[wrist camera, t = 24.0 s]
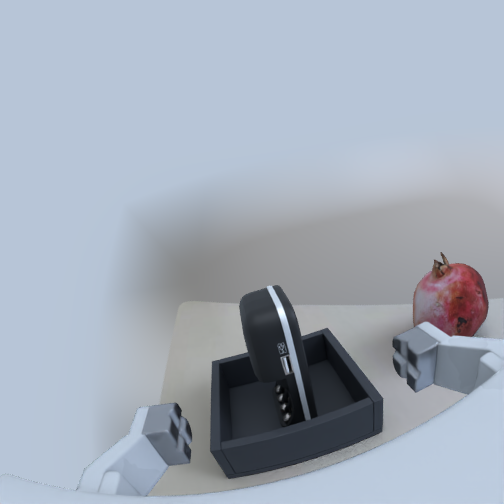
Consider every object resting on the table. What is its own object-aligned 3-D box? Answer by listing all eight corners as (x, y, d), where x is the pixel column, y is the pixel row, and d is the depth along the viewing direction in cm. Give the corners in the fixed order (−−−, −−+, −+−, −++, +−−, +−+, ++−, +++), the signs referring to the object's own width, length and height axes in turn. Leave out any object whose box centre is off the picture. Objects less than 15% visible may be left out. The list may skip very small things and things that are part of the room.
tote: (228, 479, 17) (209, 451, 16) (223, 390, 29) (211, 361, 29) (382, 431, 18) (383, 398, 17) (332, 357, 30) (327, 327, 29)
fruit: (486, 315, 25) (489, 235, 23) (480, 365, 19) (491, 268, 17) (422, 313, 32) (417, 238, 30) (400, 358, 26) (395, 269, 24)
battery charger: (264, 391, 27) (232, 290, 24) (301, 381, 27) (276, 277, 24) (276, 440, 20) (236, 325, 17) (321, 426, 20) (296, 307, 18)
